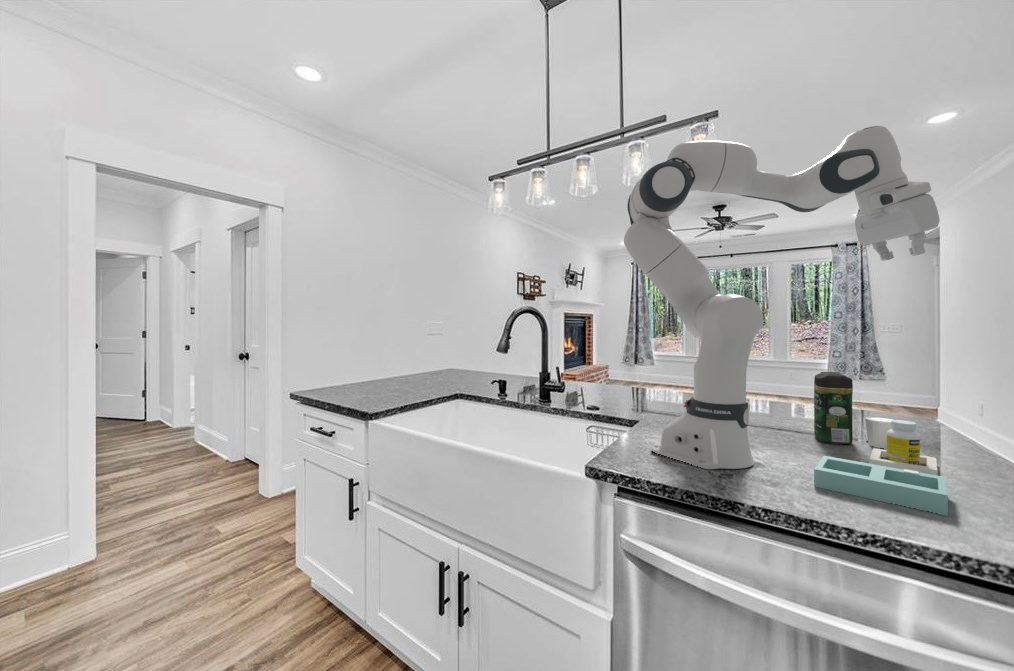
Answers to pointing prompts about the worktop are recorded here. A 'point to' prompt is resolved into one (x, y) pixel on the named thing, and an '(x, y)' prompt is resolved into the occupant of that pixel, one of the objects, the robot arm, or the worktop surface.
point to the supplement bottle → (903, 443)
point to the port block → (883, 484)
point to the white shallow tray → (929, 461)
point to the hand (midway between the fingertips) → (902, 257)
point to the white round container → (878, 430)
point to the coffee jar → (833, 408)
